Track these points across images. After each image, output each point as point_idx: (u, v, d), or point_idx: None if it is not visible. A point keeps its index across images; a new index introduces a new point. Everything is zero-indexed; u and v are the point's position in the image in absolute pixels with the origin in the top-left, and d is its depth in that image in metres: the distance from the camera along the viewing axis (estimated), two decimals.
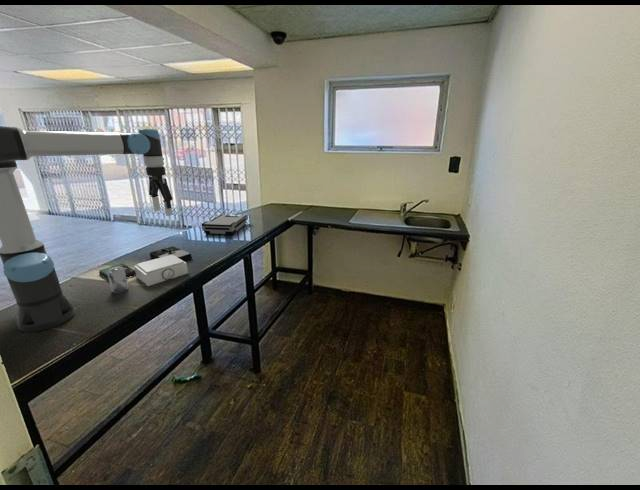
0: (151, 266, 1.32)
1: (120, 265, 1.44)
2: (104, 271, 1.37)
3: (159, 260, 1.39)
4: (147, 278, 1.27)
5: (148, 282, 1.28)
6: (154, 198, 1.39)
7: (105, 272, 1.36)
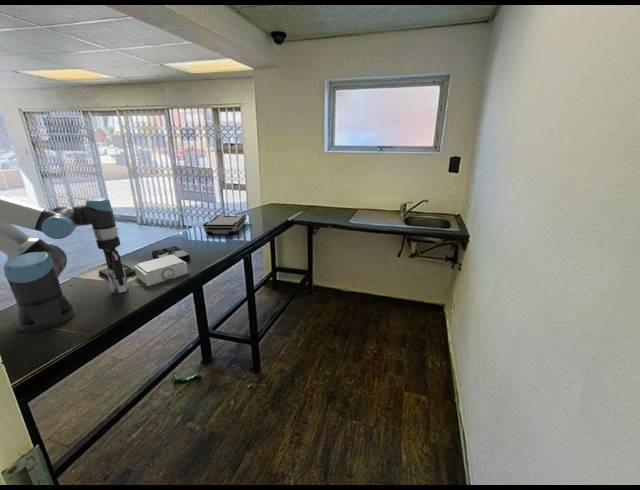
0: (151, 266, 1.32)
1: None
2: (104, 271, 1.37)
3: (159, 260, 1.39)
4: (147, 278, 1.27)
5: (148, 282, 1.28)
6: None
7: (105, 272, 1.36)
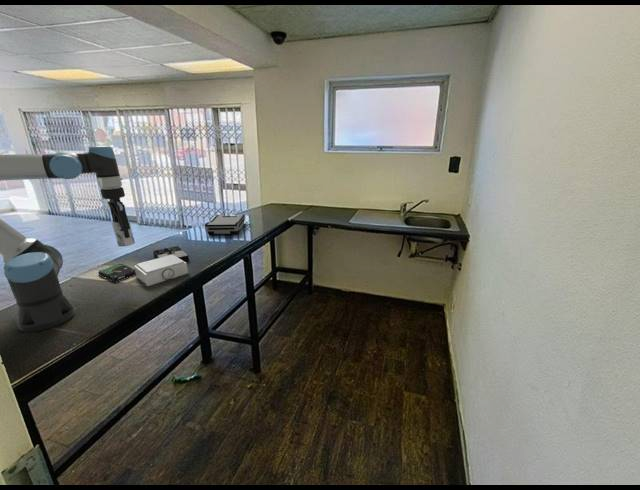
0: (151, 266, 1.32)
1: (119, 265, 1.43)
2: (104, 271, 1.37)
3: (159, 260, 1.39)
4: (147, 278, 1.27)
5: (148, 282, 1.28)
6: None
7: (105, 272, 1.36)
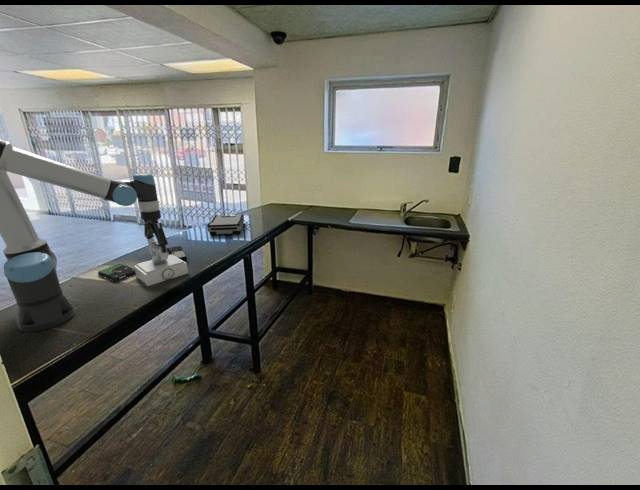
0: (151, 266, 1.32)
1: (118, 265, 1.43)
2: (104, 272, 1.36)
3: None
4: (147, 278, 1.27)
5: (148, 282, 1.28)
6: (149, 240, 1.37)
7: (105, 272, 1.36)
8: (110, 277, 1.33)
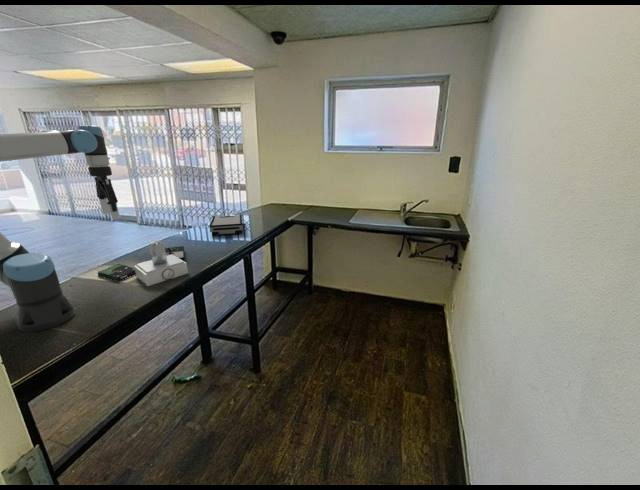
0: (151, 266, 1.32)
1: (118, 265, 1.43)
2: (104, 272, 1.36)
3: None
4: (147, 278, 1.27)
5: (148, 282, 1.28)
6: (102, 200, 1.30)
7: (106, 273, 1.35)
8: (111, 277, 1.33)
